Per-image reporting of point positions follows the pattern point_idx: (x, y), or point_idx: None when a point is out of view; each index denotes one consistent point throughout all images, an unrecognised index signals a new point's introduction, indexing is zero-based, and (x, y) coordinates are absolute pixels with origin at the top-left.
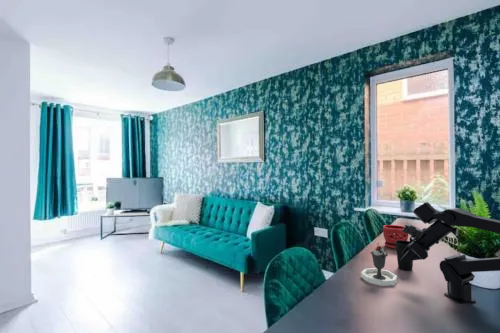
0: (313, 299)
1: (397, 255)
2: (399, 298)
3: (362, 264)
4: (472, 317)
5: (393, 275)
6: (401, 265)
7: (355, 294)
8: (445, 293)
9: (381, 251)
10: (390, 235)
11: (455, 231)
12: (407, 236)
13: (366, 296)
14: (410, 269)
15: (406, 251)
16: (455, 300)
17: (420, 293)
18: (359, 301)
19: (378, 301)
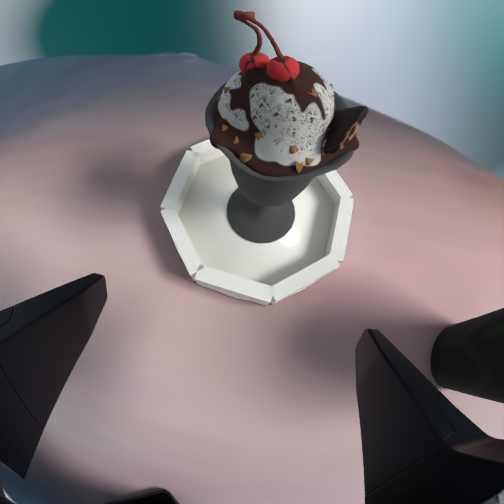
0: (55, 65)
1: (493, 312)
2: (59, 280)
3: (414, 164)
4: (26, 481)
5: (279, 282)
6: (448, 338)
7: (74, 131)
8: (168, 496)
9: (248, 104)
10: None
11: None
12: None
13: (62, 162)
14: (439, 382)
15: (375, 383)
16: (115, 502)
17: (136, 393)
18: (34, 148)
19: (32, 200)
